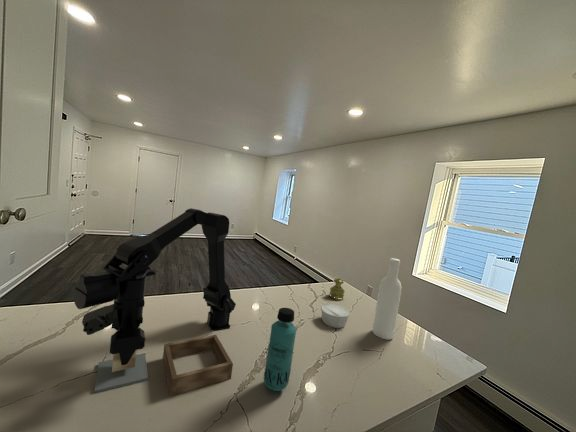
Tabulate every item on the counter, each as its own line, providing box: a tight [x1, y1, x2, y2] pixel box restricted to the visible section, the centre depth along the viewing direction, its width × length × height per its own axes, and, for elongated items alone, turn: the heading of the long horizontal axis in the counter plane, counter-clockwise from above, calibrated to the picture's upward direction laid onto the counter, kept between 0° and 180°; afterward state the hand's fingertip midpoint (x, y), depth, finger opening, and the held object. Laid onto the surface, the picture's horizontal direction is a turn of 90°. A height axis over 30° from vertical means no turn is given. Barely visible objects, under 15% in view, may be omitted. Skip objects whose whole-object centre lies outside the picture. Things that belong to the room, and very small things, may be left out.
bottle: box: [372, 257, 403, 341], centre depth 97 cm, size 8×8×30 cm
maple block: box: [112, 350, 138, 372], centre depth 60 cm, size 4×4×6 cm
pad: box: [94, 352, 149, 394], centre depth 60 cm, size 10×10×1 cm
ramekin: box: [321, 303, 350, 329], centre depth 102 cm, size 11×11×5 cm
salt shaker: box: [329, 278, 346, 301], centre depth 130 cm, size 7×7×10 cm
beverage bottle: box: [263, 307, 297, 392], centre depth 62 cm, size 6×7×20 cm
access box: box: [162, 334, 234, 397], centre depth 65 cm, size 14×14×4 cm
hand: (124, 358), depth 60 cm, fingers closed on maple block, 4 cm apart
